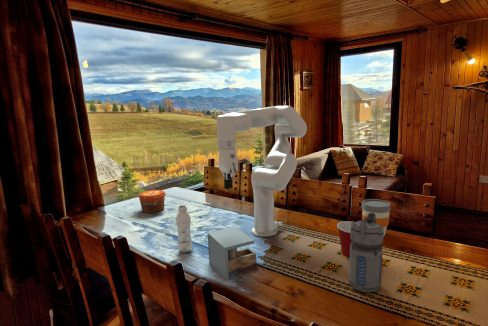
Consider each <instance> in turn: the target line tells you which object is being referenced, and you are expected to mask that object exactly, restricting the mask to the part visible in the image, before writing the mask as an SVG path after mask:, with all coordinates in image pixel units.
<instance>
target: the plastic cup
mask: <svg viewBox="0 0 488 326" xmlns="http://www.w3.org/2000/svg"><path fill="white" fill-rule="evenodd" d="M351 222H352V221H345V220H344V221H340V222H337V223H336V227H337V230H338V235H339V243H340V244H339V245H340V248H341V249H340V250H341V253H342V255H344V256H345V257H346V256H347V257H350V243H351V242H352V240H351ZM354 222H355V221H353V223H354Z"/></svg>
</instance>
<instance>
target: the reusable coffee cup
mask: <svg viewBox="0 0 488 326" xmlns="http://www.w3.org/2000/svg"><path fill="white" fill-rule="evenodd" d="M361 209H362V212H361V217H362V219H363V220H365V219H366V218H367V215H368V214H369V213H374V214H375V215H376V223H378V224H380V225H381V226H383V232H384V237H385V236H386V232H387V227H388V225H389V222H390V217H391V216H390V212H391V210H392V209H391V203H390V202H389V201H387V200H383V199H377V198H369V199H364V200H362V203H361ZM362 219H361V220H362ZM366 221H367V220H366Z"/></svg>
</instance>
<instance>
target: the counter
mask: <svg viewBox="0 0 488 326" xmlns="http://www.w3.org/2000/svg"><path fill="white" fill-rule="evenodd" d="M254 244H255V239H253V238H252V237H251V236H249V235H248V234H247V233H245V232H243V231H241V229H239V228H238V227H236V226H232V227H228V228H223V229H219V230H214V231H209V232H207V245H208V247H207V249H208V262H209V264H210V266H212V268H214V269H215V271H216V272H217V273H218V274H219V275H220V276H221V277H222V278H223V279H224V280H225V281H226V282H227V281H229V280H230V272H229V266H228V250H230V249H234V248H235V251H238V248H241V247H245V246H250V245H254Z"/></svg>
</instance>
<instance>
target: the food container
mask: <svg viewBox="0 0 488 326" xmlns="http://www.w3.org/2000/svg"><path fill="white" fill-rule="evenodd" d="M166 195H167V194H166V192H165V191H164V190H161V189H151V190H150V189H149V190H145V191H141V192H140V193H139V194H138V195H137V198H138V199H139V203H140V206H141V208H140V209H141V211H142V213H145V214H155V213H159V212H162V211H163V210H164V209H165V198H166Z"/></svg>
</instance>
